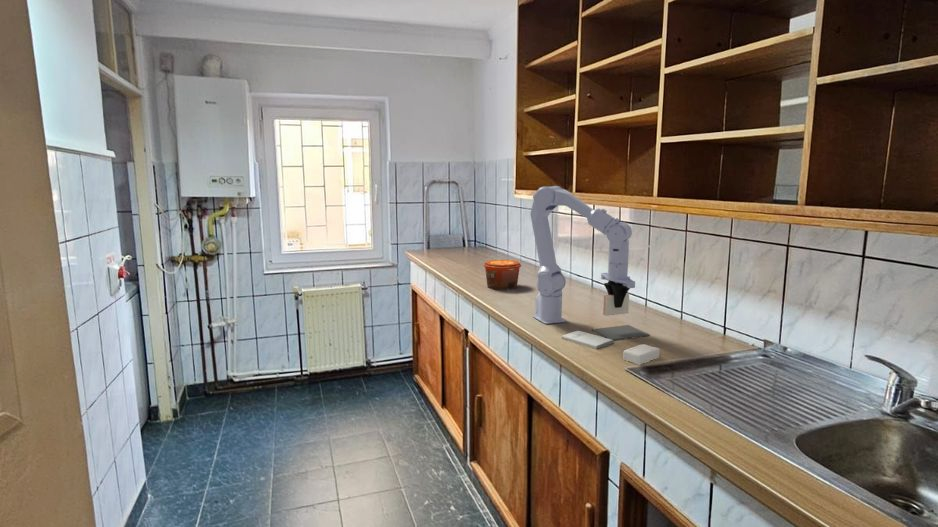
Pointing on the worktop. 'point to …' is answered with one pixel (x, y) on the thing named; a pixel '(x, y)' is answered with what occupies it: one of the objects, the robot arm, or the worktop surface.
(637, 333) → the mat
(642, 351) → the soap
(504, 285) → the food container
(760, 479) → the worktop surface
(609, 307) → the tile
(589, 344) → the external hard drive
